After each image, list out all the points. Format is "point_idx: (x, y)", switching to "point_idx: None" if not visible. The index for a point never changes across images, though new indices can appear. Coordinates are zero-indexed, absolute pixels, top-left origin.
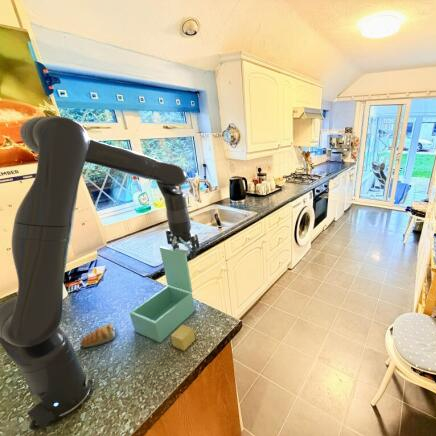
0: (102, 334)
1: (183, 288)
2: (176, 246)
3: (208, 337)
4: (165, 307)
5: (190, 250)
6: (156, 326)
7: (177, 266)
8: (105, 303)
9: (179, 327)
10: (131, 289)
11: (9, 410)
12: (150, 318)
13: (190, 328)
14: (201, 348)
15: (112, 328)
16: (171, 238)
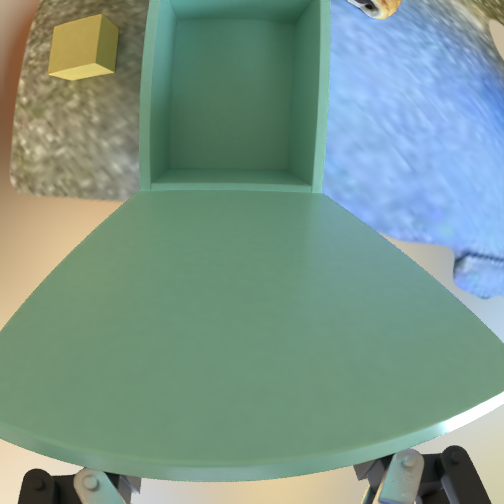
0: None
1: (190, 192)
2: (366, 464)
3: (42, 109)
4: (288, 137)
5: (86, 477)
6: None
7: (197, 260)
8: (477, 116)
9: (94, 48)
10: (464, 189)
11: None
12: (293, 69)
13: (56, 69)
14: (39, 72)
15: (371, 10)
16: (446, 499)
